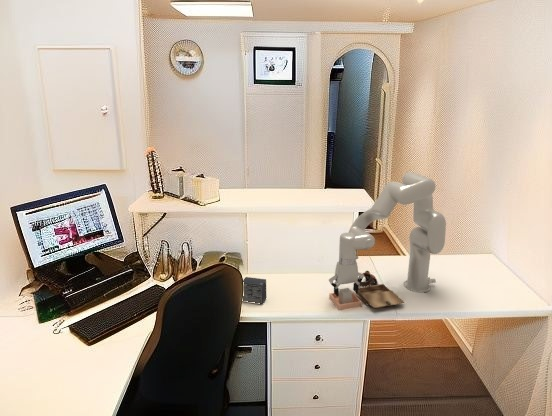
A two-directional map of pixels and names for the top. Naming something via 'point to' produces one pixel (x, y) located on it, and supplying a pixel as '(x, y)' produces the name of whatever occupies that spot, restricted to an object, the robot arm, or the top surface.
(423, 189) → the robot arm
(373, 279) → the broken pottery ring
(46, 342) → the top surface
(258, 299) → the small box
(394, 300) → the sliding lid wooden box
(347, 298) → the stone block
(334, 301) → the terracotta tray
